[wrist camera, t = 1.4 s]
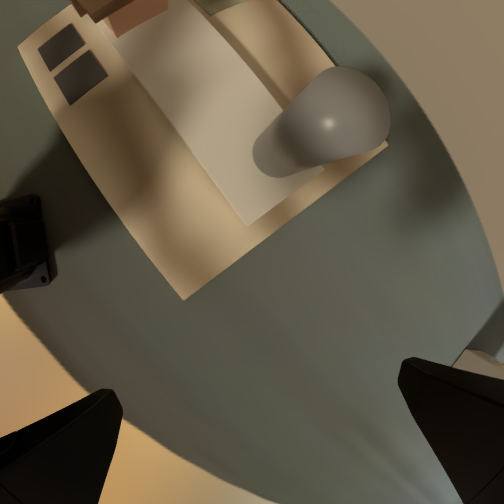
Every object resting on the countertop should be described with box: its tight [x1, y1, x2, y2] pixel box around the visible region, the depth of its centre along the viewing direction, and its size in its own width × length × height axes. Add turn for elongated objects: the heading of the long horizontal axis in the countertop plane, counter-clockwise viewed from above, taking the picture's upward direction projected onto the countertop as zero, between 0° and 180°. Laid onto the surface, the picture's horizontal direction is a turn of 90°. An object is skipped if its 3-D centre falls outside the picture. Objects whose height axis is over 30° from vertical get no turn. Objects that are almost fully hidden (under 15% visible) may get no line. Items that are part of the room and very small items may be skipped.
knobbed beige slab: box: [89, 0, 391, 226], centre depth 11 cm, size 6×20×10 cm, turn 36°
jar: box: [452, 349, 504, 380], centre depth 21 cm, size 9×8×12 cm
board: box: [18, 0, 388, 300], centre depth 17 cm, size 18×25×1 cm
